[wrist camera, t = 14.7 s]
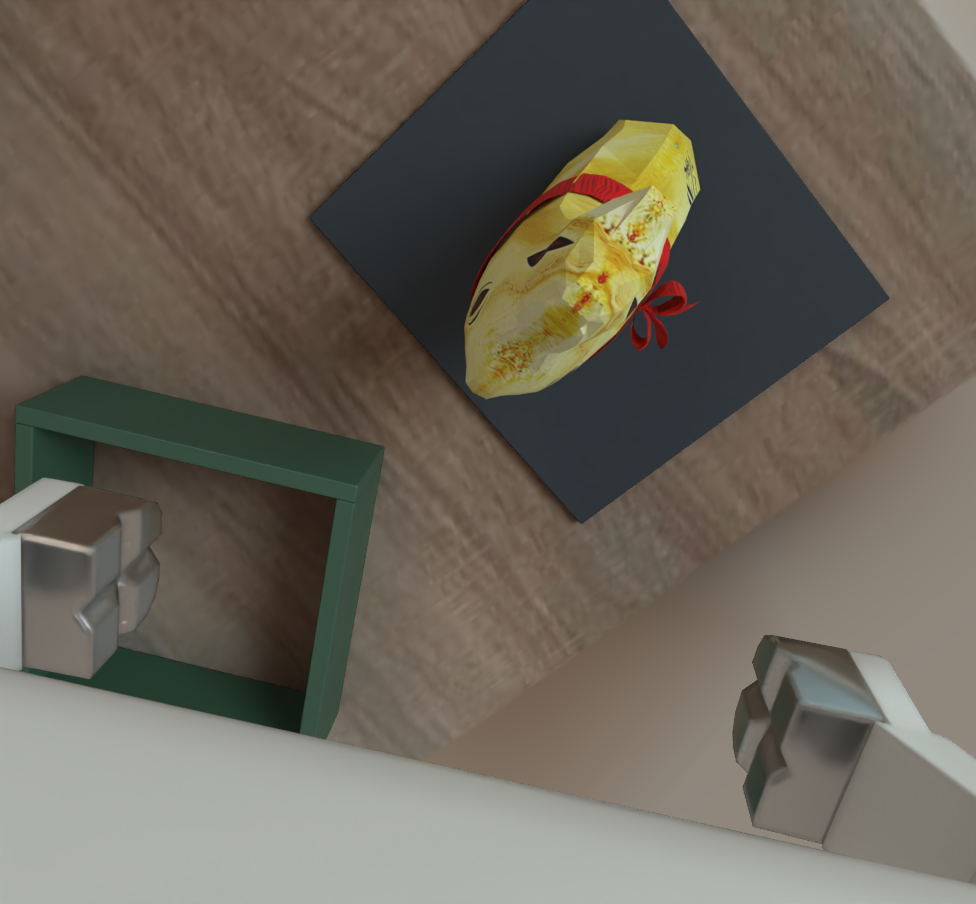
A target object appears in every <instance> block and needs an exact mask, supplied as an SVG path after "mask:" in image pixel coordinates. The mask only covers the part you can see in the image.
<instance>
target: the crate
mask: <svg viewBox="0 0 976 904" xmlns="http://www.w3.org/2000/svg"><path fill="white" fill-rule="evenodd" d="M15 421H16V422H17V423H16V425H15V494H17V493H19V492H20V491H22V490H24V489H25V488H27V487H28V486H30V485H32V484H33V483H35V482H36V481H38V480H40V479H41V478H52V479H58V480H63V481H68V482H74V483H79V484H83V485H84V486H89V487H92V480H93V459H94V441H96V442H101V443H105V444H109V445H113V446H118V447H122V448H126V449H130V450H134V451H139V452H143V453H147V454H151V455H155V456H160V457H164V458H168V459H172V460H176V461H181V462H185V463H189V464H193V465H197V466H202V467H206V468H210V469H214V470H218V471H223V472H227V473H231V474H235V475H239V476H244V477H248V478H252V479H256V480H260V481H265V482H269V483H273V484H277V485H281V486H286V487H290V488H294V489H298V490H302V491H307V492H311V493H315V494H319V495H323V496H328V497H332V498H336V499H337V500H336V505H335V511H334V518H333V524H332V530H331V537H330V543H329V549H328V556H327V562H326V568H325V575H324V581H323V587H322V594H321V600H320V606H319V613H318V619H317V625H316V632H315V638H314V644H313V651H312V657H311V663H310V670H309V676H308V682H307V689H306V693H304V692H300V691H296V690H292V689H288V688H284V687H280V686H275V685H271V684H267V683H263V682H259V681H255V680H251V679H247V678H243V677H239V676H235V675H231V674H227V673H223V672H219V671H214V670H210V669H206V668H202V667H198V666H194V665H190V664H186V663H182V662H178V661H174V660H170V659H166V658H162V657H158V656H153V655H149V654H145V653H141V652H137V651H133V650H129V649H125V648H121V647H118V649H117V650H116V651H115V652H114V653H113V654H112V656H111V657H110V658H109V659H108V660H107V661H106V662H105V663H104V664H103V665H102V666H101V667H100V669H99V670H98V671H97V672H96V673H95V674H94V675H93V676H92V677H91V678H90V679H86V678H81V677H76V676H71V675H66V674H61V673H55V672H50V671H45V670H40V669H35V668H30V667H24V666H22V670H19V671H21V672H25V673H30V674H34V675H39V676H43V677H48V678H52V679H57V680H61V681H66V682H70V683H75V684H79V685H84V686H88V687H93V688H97V689H102V690H106V691H110V692H115V693H119V694H124V695H128V696H133V697H137V698H142V699H146V700H151V701H155V702H160V703H164V704H169V705H173V706H178V707H182V708H187V709H191V710H196V711H200V712H205V713H209V714H214V715H218V716H223V717H227V718H232V719H236V720H241V721H245V722H249V723H254V724H258V725H263V726H267V727H272V728H276V729H281V730H285V731H290V732H294V733H299V734H303V735H308V736H312V737H317V738H321V739H327V736H328V734H329V732H330V730H331V727H332V725H333V723H334V721H335V718H336V716H337V714H338V710H339V704H340V703H339V702H340V699H341V693H342V687H343V682H344V676H345V670H346V665H347V659H348V653H349V648H350V642H351V636H352V631H353V625H354V619H355V613H356V608H357V602H358V596H359V591H360V585H361V579H362V574H363V568H364V562H365V557H366V551H367V545H368V540H369V534H370V528H371V522H372V517H373V511H374V505H375V500H376V494H377V488H378V483H379V477H380V471H381V466H382V463H381V462H382V460H383V454H384V447H383V446H380V445H375V444H371V443H367V442H363V441H358V440H354V439H350V438H346V437H341V436H337V435H333V434H329V433H324V432H320V431H316V430H312V429H307V428H303V427H299V426H295V425H290V424H286V423H282V422H278V421H273V420H269V419H265V418H261V417H256V416H252V415H248V414H244V413H239V412H235V411H231V410H227V409H222V408H218V407H214V406H210V405H205V404H201V403H197V402H193V401H188V400H184V399H180V398H176V397H171V396H167V395H163V394H159V393H154V392H150V391H146V390H142V389H137V388H133V387H129V386H125V385H120V384H116V383H112V382H108V381H104V380H99V379H95V378H91V377H87V376H80V377H77V378H75V379H73V380H71V381H68V382H66V383H64V384H62V385H60V386H57V387H55V388H53V389H51V390H48V391H46V392H44V393H42V394H40V395H37V396H35V397H33V398H31V399H28V400H26V401H24V402H22V403H19V404H17V405H16V407H15Z"/></svg>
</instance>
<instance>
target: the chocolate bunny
mask: <svg viewBox="0 0 976 904" xmlns="http://www.w3.org/2000/svg"><path fill="white" fill-rule="evenodd" d="M699 191H700V186H699V180H698V175H697V170H696V165H695V159H694V154H693V149H692V144H691V140H690V139H689V138H688V137H687V136H685V135H684V134H683V133H682V132H681V131H680V130H679V129H678V128H677V127H676V126H675V125H674V124H665V123H654V122H642V121H631V120H619V121H618V122H617V123H616V124H615V125H614V126H613V127H612V128H611V129H610V130H609V131H608V133H607V134H606V135H605V136H604V137H602V138H601V139H600V140H598V141H597V142H596V143H594V144H593V145H592V146H590V147H589V148H588V149H586V150H585V151H584V152H582V153H581V154H580V155H578V156H577V157H575V158H574V159H573V160H571V161H570V162H569V163H568V164H567V165H566V166H565V167H564V168H563V170H562V171H561V172H560V173H559V174H558V176H557V177H556V178H555V179H554V180H553V182H552V183H551V184H550V185H549V186H548V188H547V189H546V190H545V191H544V192H543V194H542V195H541V196H539V197H538V198H537V199H536V200H535V201H534V202H533V203H532V204H531V205H530V206H529V207H528V208H526V209H525V210H524V211H523V213H522V214H521V215H520V216H519V217H518V218H517V219H516V220H515V221H514V223H513V224H512V225H511V226H510V227H509V229H508V230H507V231H506V232H505V233H504V235H503V236H502V237H501V238H500V240H499V241H498V242H497V244H496V245H495V246H494V248H493V249H492V251H491V252H490V253H489V255H488V256H487V258H486V260H485V261H484V263H483V265H482V267H481V269H480V271H479V273H478V275H477V278H476V280H475V283H474V286H473V289H472V293H471V299H470V303H471V305H470V308H469V311H468V314H467V317H466V322H465V326H464V329H465V355H466V365H467V368H466V381H465V382H466V383H467V385H468V386H469V388H470V389H471V391H472V392H473V393H475V394H477V395H479V396H481V397H483V398H485V399H489V398H493V397H498V396H503V395H519V394H525V393H533V392H538V391H540V390H542V389H544V388H546V387H548V386H550V385H552V384H554V383H556V382H558V381H559V380H561V379H562V378H564V377H565V376H567V375H568V374H570V373H571V372H573V371H574V370H576V369H577V368H578V367H579V366H580V365H581V364H583V363H585V362H586V361H588V360H590V359H591V358H592V357H594V356H595V355H596V354H598V353H599V352H600V351H602V350H603V349H604V348H605V347H606V346H607V345H608V344H609V343H610V342H612V341H613V340H614V339H615V338H616V336H617V335H618V334H619V333H620V332H621V331H622V329H623V328H624V327H625V326H626V324H627V323H628V322H629V320H630V319H631V317H632V316H633V315H634V313H635V312H636V313H635V315H634V318H633V321H632V325H631V340H632V343H633V345H634V346H635V348H636V349H637V350H642V349H644V348H645V347H646V346H647V345H648V342H649V340H650V336H651V319H652V321H653V323H654V325H655V332H656V340H657V344H658V346H659V348H660V349H663V348H664V347H666V345H667V342H668V338H667V332H666V330H665V328H664V326H663V324H662V322H661V321H660V320H659V319H657V318H656V317H655V316H654V315H653V314H655V315H660V316H668V315H675V314H678V313H681V312H683V311H686V310H688V309H689V308H691V307H693V306H694V305H695V304H697V303H698V302H696V303H694V304H690V305H685V304H686V303H687V296H686V293H685V290H684V288H683V286H682V285H681V284H680V283H679V282H678V281H669V282H666V283H664V284H663V285H661V286H660V287H658V288H657V289H656V290H655V291H654V292H653V293H652V294H651V295H650V297H649V298H648V299H647V300H646V301H645V303H644V304H642V303H643V301H644V300H645V299H646V297H647V296H648V295H649V294H650V293H651V291H652V290H653V289H654V287H655V286H656V284H657V283H658V281H659V279H660V278H661V276H662V274H663V273H664V271H665V269H666V267H667V265H668V261H669V254H670V249H671V247H672V245H673V243H674V241H675V239H676V237H677V236H678V234H679V232H680V230H681V228H682V226H683V224H684V222H685V220H686V217H687V215H688V212H689V210H690V207H691V205H692V203H693V201H694V199H695V197H696V196H697V194H698V193H699ZM526 214H527V215H526ZM525 215H526V217H525V218H524V219H523V220H522V221H521V223H520V224H519V225H518V226H517V228H516V229H515V230H514V231H513V232H512V234H511V235H510V236H509V237H508V238H507V240H506V241H505V242H504V243H503V244H502V246H501V247H500V248H499V249H498V250H497V252H496V253H495V251H496V249H497V248H498V246H499V245H500V243H501V242H502V241H503V239H504V238H505V237H506V236H507V234H508V233H509V232H510V231H511V229H512V228H513V227H514V226H515V225H516V224H517V223H518V221H519V220H521V219H522V218H523V217H524V216H525ZM494 253H495V254H494ZM493 254H494V255H493ZM656 274H657V276H656ZM655 276H656V280H655V281H654V277H655ZM653 281H654V283H653ZM652 284H653V285H652ZM663 296H673V297H672V298H671V299H670V300H668V301H666V302H664V303H663V304H661V305H658V306H654V307H652V306H651V305H650V302H651V301H652V300H654V299H656V298H658V297H663ZM641 300H642V301H641ZM699 302H700V301H699ZM638 304H639V305H638ZM638 307H639V308H638ZM639 309H642V310H643V311H644V314H645V316H646V319H647V337H646V338H642V337H640V336H639V335H638V334H637V333H636V331H635V330H634V320H635V317H636V314H637V312H638V310H639ZM636 310H637V311H636Z"/></svg>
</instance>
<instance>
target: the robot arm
mask: <svg viewBox="0 0 976 904" xmlns="http://www.w3.org/2000/svg"><path fill="white" fill-rule="evenodd" d="M161 534H162V511H161V509H160V507H159V505H158V503H157V502H153V501H149V500H145V499H140V498H136V497H132V496H128V495H123V494H119V493H115V492H111V491H106V490H102V489H98V488H94V487H89V486H84V485H83V484H79V483H74V482H68V481H63V480H58V479H52V478H41V479H40V480H38V481H36V482H35V483H33V484H32V485H30V486H28V487H27V488H25V489H24V490H22V491H20V492H19V493H17V494H15V495H14V496H12V497H11V498H9V499H7V500H6V501H4V502H3V503H1V504H0V904H976V759H975V758H974V757H972V756H971V755H969V754H968V753H967V752H965V751H964V750H962V749H961V748H960V747H958V746H957V745H955V744H954V743H953V742H951V741H950V740H948V739H947V738H946V737H944V736H941V735H936V734H932V733H931V732H930V731H929V729H928V727H927V726H926V724H925V722H924V721H923V719H922V717H921V716H920V714H919V712H918V711H917V709H916V707H915V705H914V704H913V702H912V700H911V699H910V697H909V696H908V694H907V692H906V690H905V689H904V687H903V685H902V684H901V682H900V680H899V679H898V677H897V675H896V674H895V672H894V670H893V669H892V667H891V665H890V664H889V662H888V660H886V659H884V658H883V657H881V656H878V655H872V654H867V653H861V652H855V651H849V650H846V649H842V648H837V647H832V646H826V645H821V644H816V643H811V642H805V641H800V640H795V639H789V638H785V637H779V636H774V635H765V636H764V637H763V639H762V641H761V642H760V644H759V645H758V647H757V650H756V653H755V656H754V658H753V661H752V663H753V667H754V670H755V673H756V676H757V679H758V680H757V681H755V682H754V683H752V684H751V685H749V686H748V687H746V688H745V689H744V690H742V692H741V696H740V699H739V702H738V705H737V708H736V711H735V718H734V725H733V749H734V753H735V758H736V762H737V763H738V764H739V765H740V766H741V767H742V768H743V769H744V770H745V771H746V772H747V773H748V774H747V777H746V780H745V783H744V785H743V790H744V794H745V798H746V802H747V806H748V809H749V813H750V817H751V821H752V825H753V827H756V828H760V829H764V830H768V831H772V832H776V833H780V834H784V835H788V836H792V837H796V838H800V839H804V840H808V841H812V842H816V843H820V844H823V845H822V848H823V849H824V850H825V851H824V850H820V849H815V848H811V847H806V846H802V845H797V844H793V843H788V842H784V841H779V840H775V839H770V838H766V837H761V836H756V835H752V834H748V833H743V832H739V831H734V830H730V829H725V828H721V827H716V826H712V825H707V824H703V823H698V822H694V821H689V820H685V819H680V818H676V817H671V816H667V815H662V814H658V813H653V812H649V811H644V810H640V809H635V808H631V807H626V806H622V805H617V804H613V803H608V802H604V801H599V800H595V799H590V798H586V797H581V796H577V795H573V794H568V793H564V792H559V791H554V790H550V789H545V788H541V787H537V786H532V785H528V784H523V783H519V782H514V781H509V780H505V779H501V778H496V777H491V776H487V775H482V774H478V773H474V772H469V771H465V770H460V769H456V768H451V767H447V766H442V765H437V764H433V763H429V762H424V761H420V760H415V759H411V758H406V757H402V756H397V755H393V754H388V753H384V752H380V751H375V750H371V749H366V748H362V747H357V746H353V745H348V744H344V743H339V742H335V741H330V740H326V739H321V738H317V737H312V736H308V735H303V734H299V733H294V732H290V731H285V730H281V729H276V728H272V727H267V726H263V725H258V724H254V723H249V722H245V721H241V720H236V719H232V718H227V717H223V716H218V715H214V714H209V713H205V712H200V711H196V710H191V709H187V708H182V707H178V706H173V705H169V704H164V703H160V702H155V701H151V700H146V699H142V698H137V697H133V696H128V695H124V694H119V693H115V692H110V691H106V690H102V689H97V688H93V687H88V686H84V685H79V684H75V683H70V682H66V681H61V680H57V679H52V678H48V677H43V676H39V675H34V674H30V673H25V672H21V671H19V670H22V666H24V667H30V668H35V669H40V670H45V671H50V672H55V673H61V674H66V675H71V676H76V677H81V678H86V679H90V678H91V677H92V676H93V675H94V674H95V673H96V672H97V671H98V670H99V669H100V667H101V666H102V665H103V664H104V663H105V662H106V661H107V660H108V659H109V658H110V657H111V656H112V654H113V653H114V652H115V651H116V650H117V649H118V635H121V634H124V633H127V632H130V631H133V630H135V629H136V628H137V627H138V626H139V624H140V623H141V622H142V621H143V620H144V619H145V617H146V616H147V614H148V611H149V609H150V607H151V605H152V603H153V601H154V599H155V595H156V591H157V586H158V582H159V571H160V563H159V561H158V560H157V558H156V556H155V555H154V553H153V551H152V550H151V548H150V545H151V544H152V543H153V542H154V541H155V540H156V539H157V538H158V537H159V536H160V535H161Z"/></svg>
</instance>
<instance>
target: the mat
mask: <svg viewBox="0 0 976 904" xmlns="http://www.w3.org/2000/svg"><path fill="white" fill-rule="evenodd" d="M619 120H631V121H642V122H654V123H665V124H674V125H675V126H676V127H677V128H678V129H679V130H680V131H681V132H682V133H683V134H684V135H685V136H687V137H688V138H689V139H690V140H691V144H692V149H693V154H694V159H695V165H696V170H697V175H698V180H699V186H700V191H699V193H698V194H697V196H696V197H695V199H694V201H693V203H692V205H691V207H690V210H689V212H688V215H687V217H686V220H685V222H684V224H683V226H682V228H681V230H680V232H679V234H678V236H677V237H676V239H675V241H674V243H673V245H672V247H671V249H670V254H669V261H668V265H667V267H666V269H665V271H664V273H663V274H662V276H661V278H660V279H659V281H658V283H657V284H656V286H655V287H654V289H653V290H652V291H651V293H650V294H649V295H648V296H647V297H646V299H645V300H644V301H643V303H642V304H644V303H645V301H646V300H647V299H648V298H649V297H650V295H651V294H652V293H653V292H654V291H655V290H656V289H657V288H658V287H660V286H661V285H663V284H664V283H666V282H669V281H678V282H679V283H680V284H681V285H682V286H683V288H684V290H685V293H686V296H687V303H686V304H685V305H690V304H694V303H696V302H698V303H697V304H695V305H694V306H693V307H691V308H689V309H688V310H686V311H683V312H681V313H678V314H675V315H668V316H660V315H655V314H653V315H654V316H655V317H656V318H657V319H659V320H660V321H661V322H662V324H663V326H664V328H665V330H666V332H667V338H668V342H667V345H666V347H664V348H663V349H660V348H659V346H658V344H657V340H656V332H655V325H654V323H653V321H652V319H651V336H650V340H649V342H648V345H647V346H646V347H645V348H644V349H642V350H637V349H636V348H635V346H634V345H633V343H632V340H631V325H632V321H633V318H634V315H635V313H636V312H635V313H634V315H633V316H632V317H631V319H630V320H629V322H628V323H627V324H626V326H625V327H624V328H623V329H622V331H621V332H620V333H619V334H618V335H617V336H616V338H615V339H614V340H613V341H612V342H610V343H609V344H608V345H607V346H606V347H605V348H604V349H603V350H602V351H600V352H599V353H598V354H596V355H595V356H594V357H592V358H591V359H590V360H588V361H586V362H585V363H583V364H581V365H580V366H579V367H578V368H577V369H576V370H574V371H573V372H571V373H570V374H568V375H567V376H565V377H564V378H562V379H561V380H559V381H558V382H556V383H554V384H552V385H550V386H548V387H546V388H544V389H542V390H540V391H538V392H533V393H525V394H519V395H503V396H498V397H493V398H489V399H485V398H483V397H481V396H479V395H477V394H475V393H473V392H472V391H471V389H470V388H469V386H468V385H467V383H466V382H465V381H466V368H467V365H466V355H465V329H464V326H465V322H466V317H467V314H468V311H469V308H470V305H471V303H470V299H471V293H472V289H473V286H474V283H475V280H476V278H477V275H478V273H479V271H480V269H481V267H482V265H483V263H484V261H485V260H486V258H487V256H488V255H489V253H490V252H491V251H492V249H493V248H494V246H495V245H496V244H497V242H498V241H499V240H500V238H501V237H502V236H503V235H504V233H505V232H506V231H507V230H508V229H509V227H510V226H511V225H512V224H513V223H514V221H515V220H516V219H517V218H518V217H519V216H520V215H521V214H522V213H523V211H524V210H525V209H526V208H528V207H529V206H530V205H531V204H532V203H533V202H534V201H535V200H536V199H537V198H538V197H539V196H541V195H542V194H543V192H544V191H545V190H546V189H547V188H548V186H549V185H550V184H551V183H552V182H553V180H554V179H555V178H556V177H557V176H558V174H559V173H560V172H561V171H562V170H563V168H564V167H565V166H566V165H567V164H568V163H569V162H570V161H571V160H573V159H574V158H575V157H577V156H578V155H580V154H581V153H582V152H584V151H585V150H586V149H588V148H589V147H590V146H592V145H593V144H594V143H596V142H597V141H598V140H600V139H601V138H602V137H604V136H605V135H606V134H607V133H608V131H609V130H610V129H611V128H612V127H613V126H614V125H615V124H616V123H617V122H618V121H619ZM526 215H527V214H526ZM526 215H525V216H524V217H523V218H522V219H521V220H519V221H518V223H517V224H516V225H515V226H514V227H513V228H512V229H511V231H510V232H509V233H508V234H507V236H506V237H505V238H504V239H503V241H502V242H501V243H500V245H499V246H498V248H497V249H496V251H495V253H496V252H497V250H498V249H499V248H500V247H501V246H502V244H503V243H504V242H505V241H506V240H507V238H508V237H509V236H510V235H511V234H512V232H513V231H514V230H515V229H516V228H517V226H518V225H519V224H520V223H521V221H522V220H523V219H524V218H525V217H526ZM309 218H310V219H311V221H312V222H313V223H314V224H315V225H316V226H317V227H318V228H319V230H320V231H321V232H322V233H323V234H324V235H325V236H326V238H327V239H328V240H329V241H330V242H331V243H332V244H333V245H334V247H335V248H336V249H337V250H338V251H339V252H340V253H341V254H342V256H343V257H344V258H345V259H346V260H347V261H348V262H349V263H350V265H351V266H352V267H353V268H354V269H355V270H356V271H357V272H358V274H359V275H360V276H361V277H362V278H363V279H364V280H365V281H366V283H367V284H368V285H369V286H370V287H371V288H372V289H373V290H374V292H375V293H376V294H377V295H378V296H379V297H380V298H381V299H382V301H383V302H384V303H385V304H386V305H387V306H388V307H389V308H390V310H391V311H392V312H393V313H394V314H395V315H396V316H397V317H398V319H399V320H400V321H401V322H402V323H403V324H404V325H405V326H406V328H407V329H408V330H409V331H410V332H411V333H412V334H413V336H414V337H415V338H416V339H417V340H418V341H419V342H420V343H421V345H422V346H423V347H424V348H425V349H426V350H427V351H428V352H429V354H430V355H431V356H432V357H433V358H434V359H435V360H436V361H437V363H438V364H439V365H440V366H441V367H442V368H443V369H444V370H445V372H446V373H447V374H448V375H449V376H450V377H451V378H452V379H453V381H454V382H455V383H456V384H457V385H458V386H459V387H460V388H461V390H462V391H463V392H464V393H465V394H466V395H467V396H468V397H469V399H470V400H471V401H472V402H473V403H474V404H475V405H476V406H477V408H478V409H479V410H480V411H481V412H482V413H483V414H484V415H485V417H486V418H487V419H488V420H489V421H490V422H491V423H492V424H493V426H494V427H495V428H496V429H497V430H498V431H499V432H500V434H501V435H502V436H503V437H504V438H505V439H506V440H507V441H508V443H509V444H510V445H511V446H512V447H513V448H514V449H515V450H516V452H517V453H518V454H519V455H520V456H521V457H522V458H523V459H524V461H525V462H526V463H527V464H528V465H529V466H530V467H531V468H532V470H533V471H534V472H535V473H536V474H537V475H538V476H539V477H540V479H541V480H542V481H543V482H544V483H545V484H546V485H547V486H548V488H549V489H550V490H551V491H552V492H553V493H554V494H555V495H556V497H557V498H558V499H559V500H560V501H561V502H562V503H563V504H564V506H565V507H566V508H567V509H568V510H569V511H570V512H571V513H572V515H573V516H574V517H575V518H576V519H577V520H578V521H579V522H580V524H582V523H584V522H585V521H586V520H588V519H589V518H590V517H592V516H593V515H595V514H596V513H597V512H599V511H600V510H601V509H603V508H604V507H605V506H607V505H608V504H610V503H611V502H612V501H614V500H615V499H616V498H618V497H619V496H621V495H622V494H623V493H625V492H626V491H627V490H629V489H630V488H631V487H633V486H634V485H636V484H637V483H638V482H640V481H641V480H642V479H644V478H645V477H646V476H648V475H649V474H651V473H652V472H653V471H655V470H656V469H657V468H659V467H660V466H662V465H663V464H664V463H666V462H667V461H668V460H670V459H671V458H672V457H674V456H675V455H677V454H678V453H679V452H681V451H682V450H683V449H685V448H686V447H688V446H689V445H690V444H692V443H693V442H694V441H696V440H697V439H698V438H700V437H701V436H703V435H704V434H705V433H707V432H708V431H709V430H711V429H712V428H713V427H715V426H716V425H718V424H719V423H720V422H722V421H723V420H724V419H726V418H727V417H729V416H730V415H731V414H733V413H734V412H735V411H737V410H738V409H739V408H741V407H742V406H744V405H745V404H746V403H748V402H749V401H750V400H752V399H753V398H755V397H756V396H757V395H759V394H760V393H761V392H763V391H764V390H765V389H767V388H768V387H770V386H771V385H772V384H774V383H775V382H776V381H778V380H779V379H780V378H782V377H783V376H785V375H786V374H787V373H789V372H790V371H791V370H793V369H794V368H796V367H797V366H798V365H800V364H801V363H802V362H804V361H805V360H806V359H808V358H809V357H811V356H812V355H813V354H815V353H816V352H817V351H819V350H820V349H822V348H823V347H824V346H826V345H827V344H828V343H830V342H831V341H832V340H834V339H835V338H837V337H838V336H839V335H841V334H842V333H843V332H845V331H846V330H847V329H849V328H850V327H852V326H853V325H854V324H856V323H857V322H858V321H860V320H861V319H863V318H864V317H865V316H867V315H868V314H869V313H871V312H872V311H873V310H875V309H876V308H878V307H879V306H880V305H882V304H883V303H884V302H886V301H887V300H889V296H888V295H887V294H886V292H885V291H884V290H883V288H882V287H881V286H880V284H879V283H878V281H877V280H876V279H875V277H874V276H873V275H872V273H871V272H870V271H869V269H868V268H867V267H866V265H865V264H864V263H863V261H862V260H861V259H860V257H859V256H858V255H857V253H856V252H855V251H854V249H853V248H852V247H851V245H850V244H849V243H848V241H847V240H846V239H845V237H844V236H843V235H842V233H841V232H840V231H839V229H838V228H837V227H836V225H835V224H834V222H833V221H832V220H831V218H830V217H829V216H828V214H827V213H826V212H825V210H824V209H823V208H822V206H821V205H820V204H819V202H818V201H817V200H816V198H815V197H814V196H813V194H812V193H811V192H810V190H809V189H808V188H807V186H806V185H805V184H804V182H803V181H802V180H801V178H800V177H799V176H798V174H797V173H796V172H795V170H794V169H793V168H792V166H791V165H790V163H789V162H788V161H787V159H786V158H785V157H784V155H783V154H782V153H781V151H780V150H779V149H778V147H777V146H776V145H775V143H774V142H773V141H772V139H771V138H770V137H769V135H768V134H767V133H766V131H765V130H764V129H763V127H762V126H761V125H760V123H759V122H758V121H757V119H756V118H755V117H754V115H753V114H752V113H751V111H750V110H749V109H748V107H747V106H746V104H745V103H744V102H743V100H742V99H741V98H740V96H739V95H738V94H737V92H736V91H735V90H734V88H733V87H732V86H731V84H730V83H729V82H728V80H727V79H726V78H725V76H724V75H723V74H722V72H721V71H720V70H719V68H718V67H717V66H716V64H715V63H714V62H713V60H712V59H711V58H710V56H709V55H708V54H707V52H706V51H705V50H704V48H703V47H702V45H701V44H700V43H699V41H698V40H697V39H696V37H695V36H694V35H693V33H692V32H691V31H690V29H689V28H688V27H687V25H686V24H685V23H684V21H683V20H682V19H681V17H680V16H679V15H678V13H677V12H676V11H675V9H674V8H673V7H672V5H671V4H670V3H669V1H668V0H529V1H528V2H527V3H525V4H524V5H523V6H522V7H521V8H520V9H519V10H518V11H517V12H516V13H515V14H514V15H513V16H512V17H511V18H510V19H509V20H508V21H507V22H506V23H505V24H504V25H503V26H502V27H501V28H500V29H499V30H498V31H497V32H496V33H495V34H494V35H493V36H492V37H491V38H490V39H489V40H488V41H487V42H486V43H485V44H484V45H483V46H482V47H481V48H480V49H479V50H478V51H477V52H476V53H475V54H474V55H473V56H472V57H471V58H470V59H469V60H468V61H467V62H466V63H465V64H464V65H463V66H462V67H461V68H460V69H459V70H458V71H457V72H456V73H455V74H454V75H453V76H452V77H451V78H450V79H449V80H448V81H447V82H446V83H445V84H444V85H443V86H441V87H440V88H439V89H438V90H437V91H436V92H435V93H434V94H433V95H432V96H431V97H430V98H429V99H428V100H427V101H426V102H425V103H424V104H423V105H422V106H421V107H420V108H419V109H418V110H417V111H416V112H415V113H414V114H413V115H412V116H411V117H410V118H409V119H408V120H407V121H406V122H405V123H404V124H403V125H402V126H401V127H400V128H399V129H398V130H397V131H396V132H395V133H394V134H393V135H392V136H391V137H390V138H389V139H388V140H387V141H386V142H385V143H384V144H383V145H382V146H381V147H380V148H379V149H378V150H377V151H376V152H375V153H374V154H373V155H372V156H371V157H370V158H369V159H368V160H367V161H366V162H365V163H364V164H363V165H362V166H361V167H360V168H359V169H357V170H356V171H355V172H354V173H353V174H352V175H351V176H350V177H349V178H348V179H347V180H346V181H345V182H344V183H343V184H342V185H341V186H340V187H339V188H338V189H337V190H336V191H335V192H334V193H333V194H332V195H331V196H330V197H329V198H328V199H327V200H326V201H325V202H324V203H323V204H322V205H321V206H320V207H319V208H318V209H317V210H316V211H315V212H314V213H313V214H312V215H311V216H310V217H309ZM495 253H494V254H495ZM494 254H493V255H494ZM656 276H657V274H656ZM656 276H655V277H654V281H655V280H656ZM654 281H653V283H654ZM652 285H653V284H652ZM672 297H673V296H663V297H658V298H656V299H654V300H652V301H651V302H650V305H651V306H652V307H654V306H658V305H661V304H663V303H664V302H666V301H668V300H670V299H671V298H672ZM641 301H642V300H641ZM699 301H700V302H699ZM638 305H639V304H638ZM638 308H639V307H638ZM636 311H637V310H636ZM634 330H635V331H636V333H637V334H638V335H639V336H640V337H642V338H646V337H647V319H646V316H645V314H644V311H643V310H642V309H639V310H638V312H637V314H636V317H635V320H634Z"/></svg>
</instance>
